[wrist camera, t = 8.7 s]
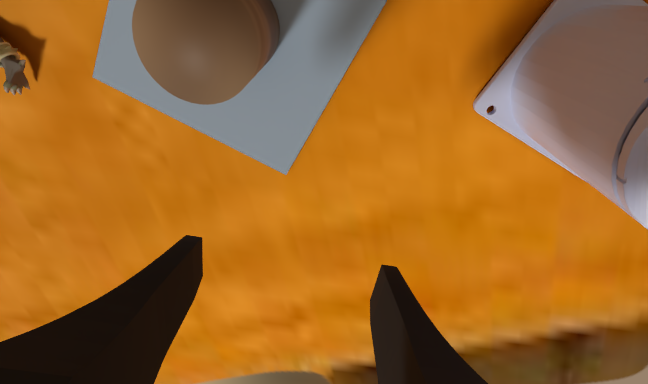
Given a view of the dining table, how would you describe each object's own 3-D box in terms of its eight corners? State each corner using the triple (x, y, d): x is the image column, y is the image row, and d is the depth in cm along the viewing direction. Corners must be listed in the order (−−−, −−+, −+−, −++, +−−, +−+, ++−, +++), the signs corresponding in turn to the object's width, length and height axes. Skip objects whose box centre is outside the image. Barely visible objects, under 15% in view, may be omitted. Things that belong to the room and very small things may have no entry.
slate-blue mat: (396, -19, 17) (397, -19, 17) (286, 172, 22) (285, 174, 22) (155, -187, 14) (150, -191, 14) (96, 75, 20) (92, 77, 20)
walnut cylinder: (294, 7, 17) (277, 15, 12) (258, 88, 19) (230, 124, 14) (208, -45, 16) (150, -60, 11) (180, 46, 18) (119, 68, 13)
